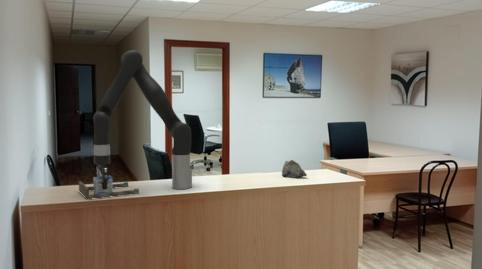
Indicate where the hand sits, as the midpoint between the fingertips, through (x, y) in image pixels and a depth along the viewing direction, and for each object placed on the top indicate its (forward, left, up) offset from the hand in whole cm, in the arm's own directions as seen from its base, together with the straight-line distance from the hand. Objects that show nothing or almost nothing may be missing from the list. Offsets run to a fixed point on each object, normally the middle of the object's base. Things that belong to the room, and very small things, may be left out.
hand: (102, 187), depth 212 cm
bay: (-3, -2, -3) cm, 5 cm away
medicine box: (0, 0, -4) cm, 4 cm away
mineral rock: (-104, +12, -4) cm, 105 cm away
